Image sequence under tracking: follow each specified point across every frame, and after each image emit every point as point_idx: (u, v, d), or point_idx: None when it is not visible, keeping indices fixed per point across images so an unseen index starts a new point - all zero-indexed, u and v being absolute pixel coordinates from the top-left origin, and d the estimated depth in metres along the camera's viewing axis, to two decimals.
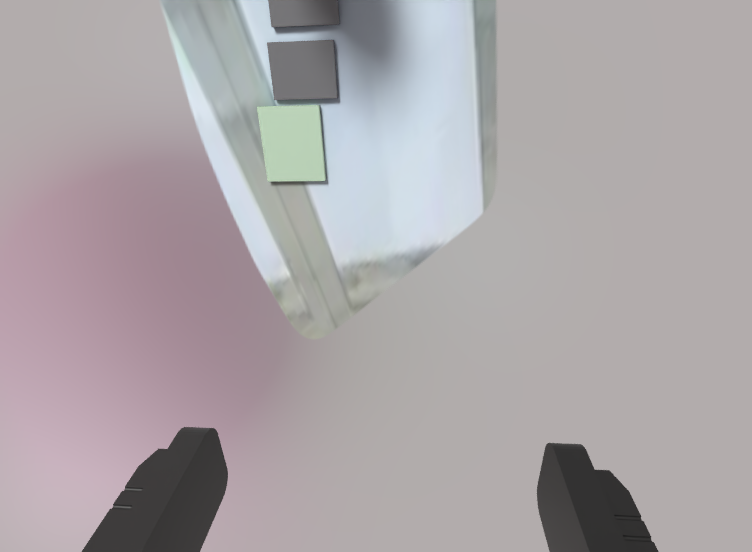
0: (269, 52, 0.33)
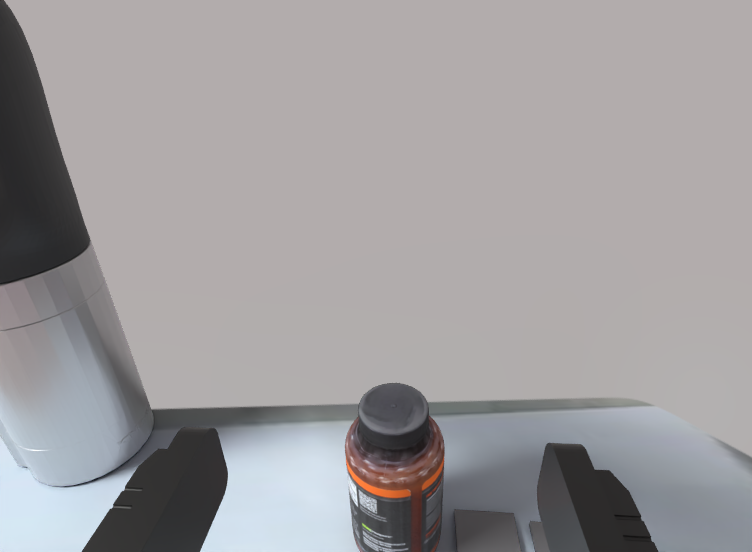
0: None
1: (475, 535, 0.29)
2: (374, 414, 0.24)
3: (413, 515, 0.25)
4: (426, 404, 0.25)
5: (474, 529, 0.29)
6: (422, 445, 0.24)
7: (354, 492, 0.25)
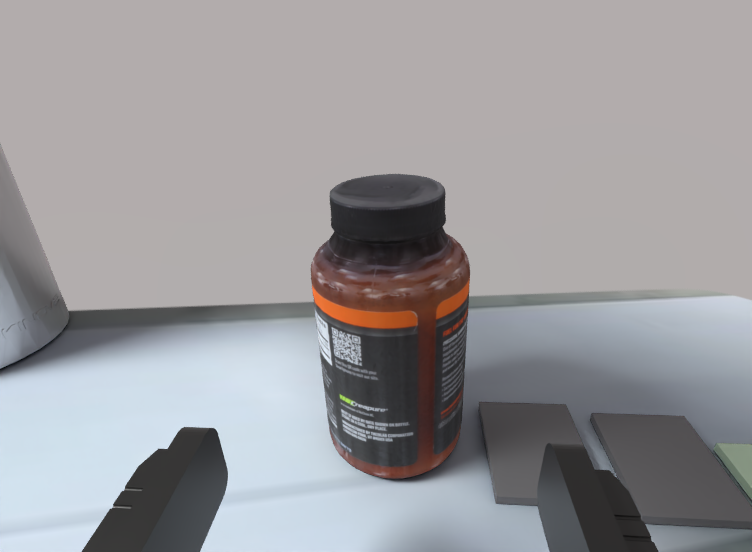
0: (660, 520, 0.16)
1: (513, 431, 0.19)
2: (355, 193, 0.14)
3: (420, 369, 0.15)
4: (441, 185, 0.15)
5: (511, 424, 0.20)
6: (435, 245, 0.14)
7: (325, 339, 0.16)
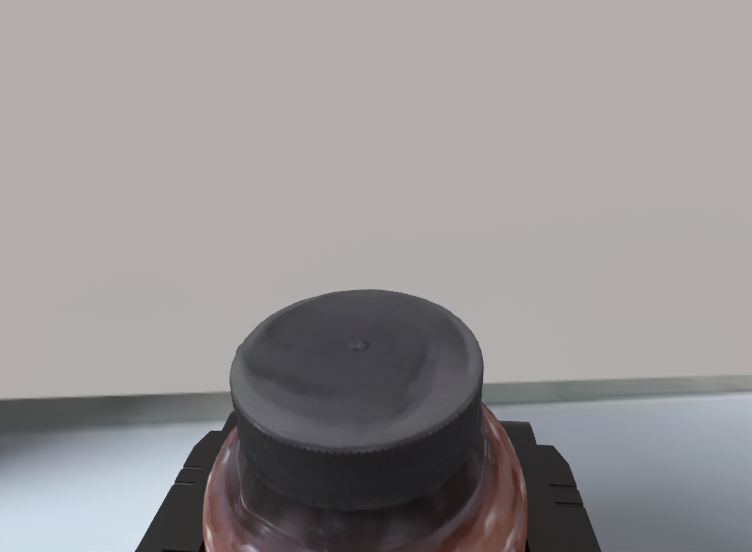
0: None
1: None
2: (283, 372, 0.06)
3: None
4: (473, 341, 0.07)
5: None
6: (463, 487, 0.07)
7: None
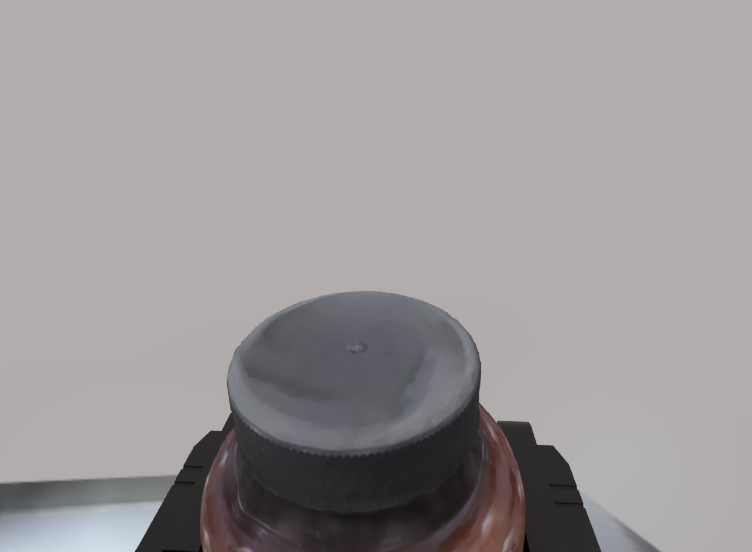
0: None
1: None
2: (280, 375, 0.06)
3: None
4: (471, 343, 0.07)
5: None
6: (460, 490, 0.06)
7: None
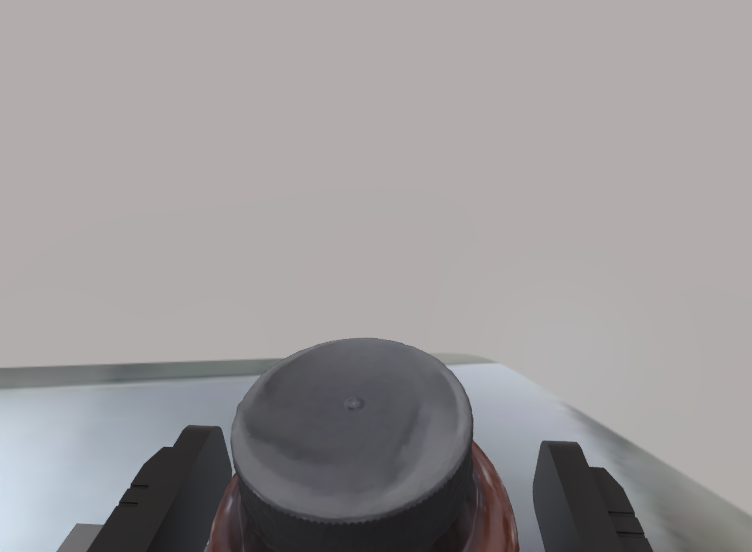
0: None
1: None
2: (281, 435, 0.07)
3: None
4: (464, 397, 0.07)
5: None
6: (454, 542, 0.07)
7: None
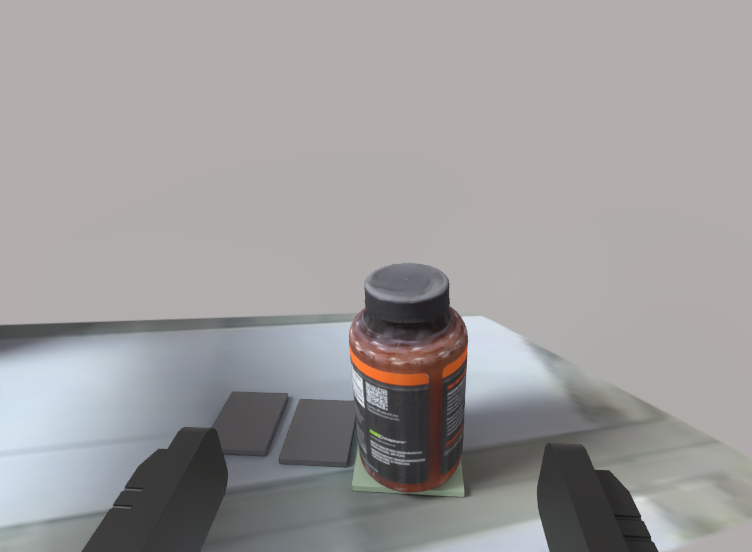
0: (290, 461, 0.25)
1: (240, 410, 0.29)
2: (384, 286, 0.20)
3: (431, 413, 0.20)
4: (446, 278, 0.20)
5: (242, 405, 0.29)
6: (442, 324, 0.20)
7: (360, 389, 0.21)
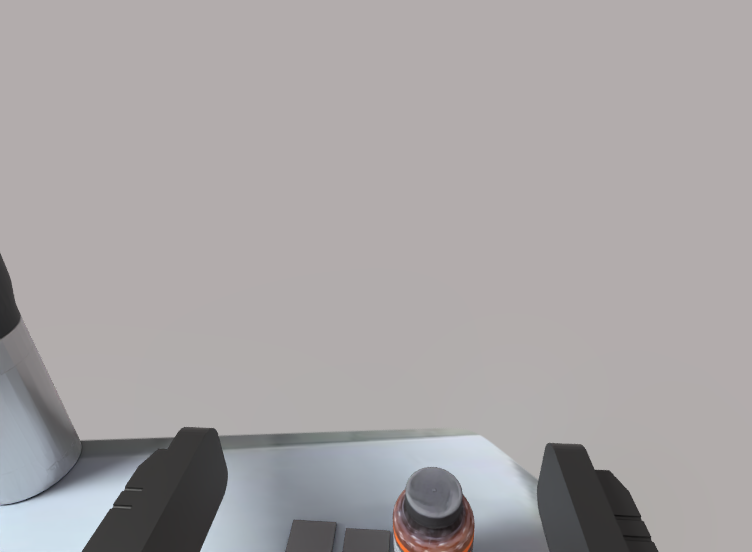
0: None
1: (302, 539, 0.39)
2: (419, 498, 0.30)
3: None
4: (460, 488, 0.30)
5: (303, 534, 0.39)
6: (458, 522, 0.30)
7: None
